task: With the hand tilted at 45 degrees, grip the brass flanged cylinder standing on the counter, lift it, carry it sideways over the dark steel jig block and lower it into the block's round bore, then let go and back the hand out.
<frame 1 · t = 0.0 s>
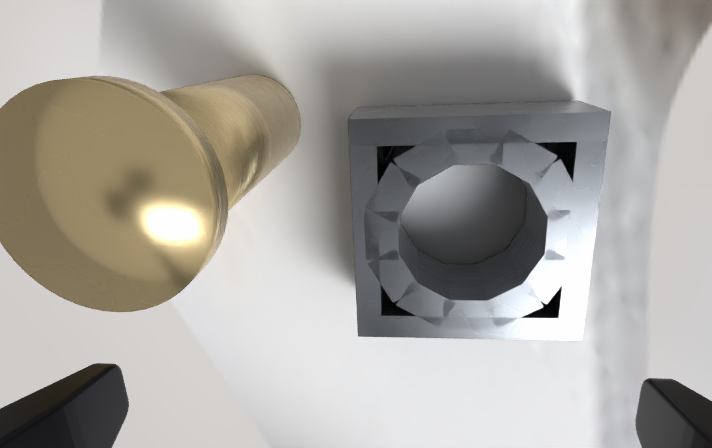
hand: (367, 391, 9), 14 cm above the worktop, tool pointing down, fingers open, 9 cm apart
brass flanged cylinder: (255, 122, 22), on the worktop
jig: (462, 207, 22), on the worktop
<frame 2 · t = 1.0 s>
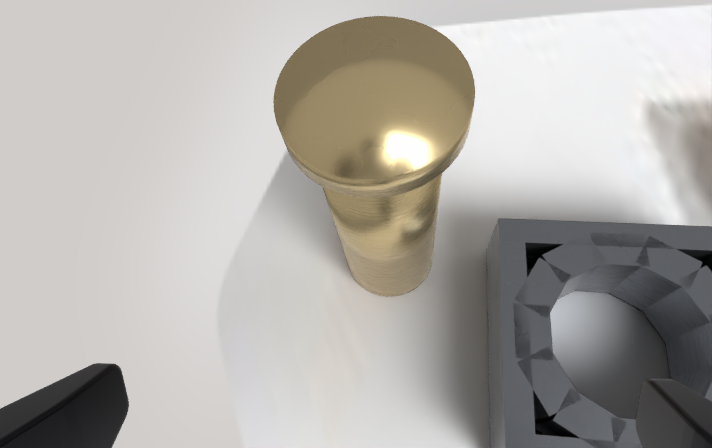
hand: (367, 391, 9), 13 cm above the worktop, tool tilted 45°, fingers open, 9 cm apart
brass flanged cylinder: (389, 255, 24), on the worktop
jig: (598, 354, 21), on the worktop
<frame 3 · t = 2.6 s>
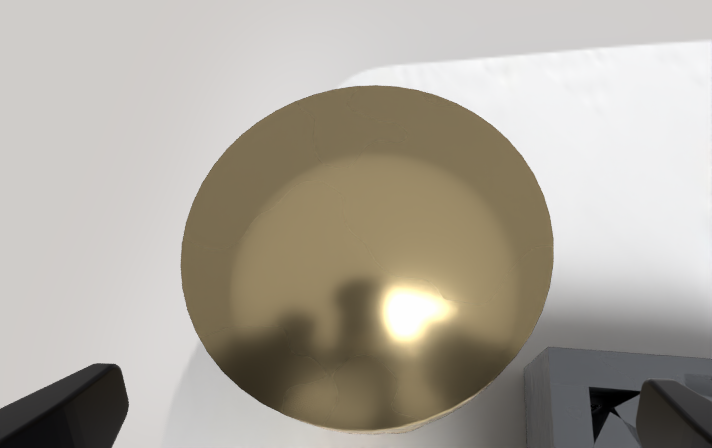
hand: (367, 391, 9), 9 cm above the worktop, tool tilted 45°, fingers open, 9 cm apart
brass flanged cylinder: (393, 372, 18), on the worktop
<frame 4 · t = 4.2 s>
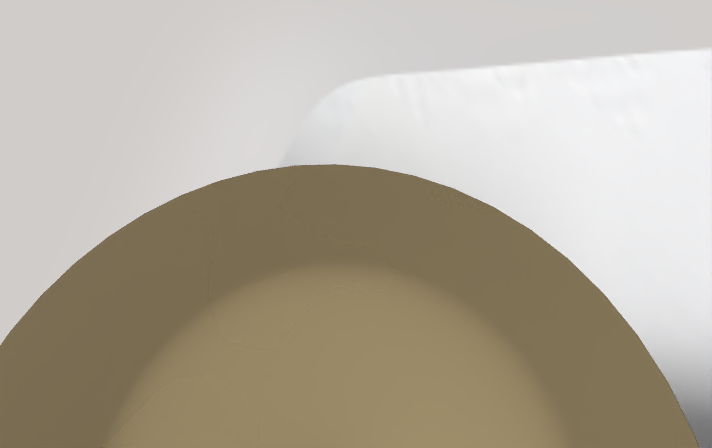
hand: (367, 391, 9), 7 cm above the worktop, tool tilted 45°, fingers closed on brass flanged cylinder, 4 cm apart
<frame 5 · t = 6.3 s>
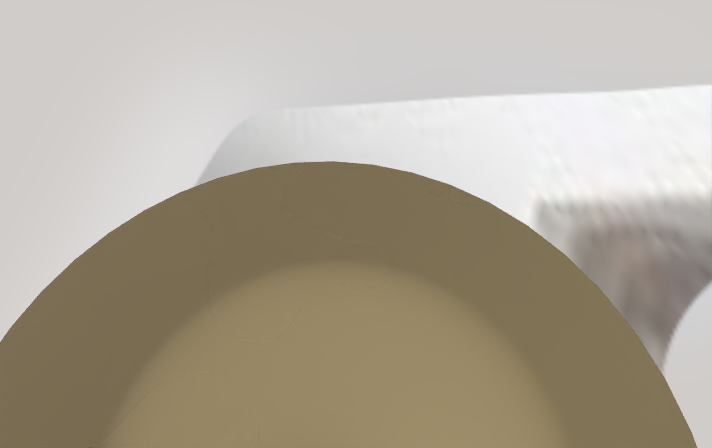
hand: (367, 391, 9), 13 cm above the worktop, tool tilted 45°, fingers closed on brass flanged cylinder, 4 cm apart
when the fingers open (9 cm above the worktop, at t = 8.5 s): brass flanged cylinder drops 2 cm, resting in jig.
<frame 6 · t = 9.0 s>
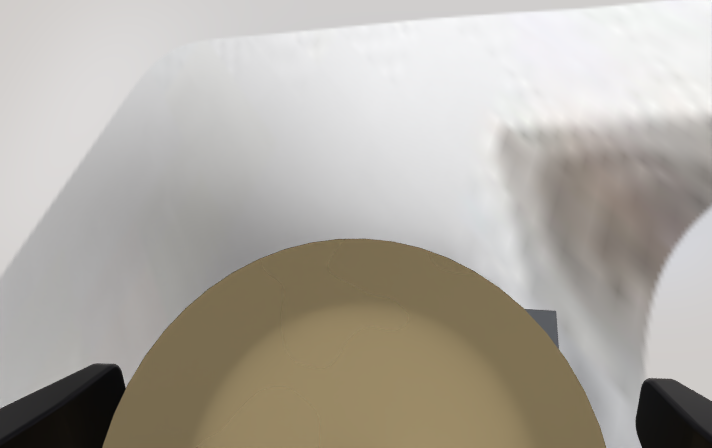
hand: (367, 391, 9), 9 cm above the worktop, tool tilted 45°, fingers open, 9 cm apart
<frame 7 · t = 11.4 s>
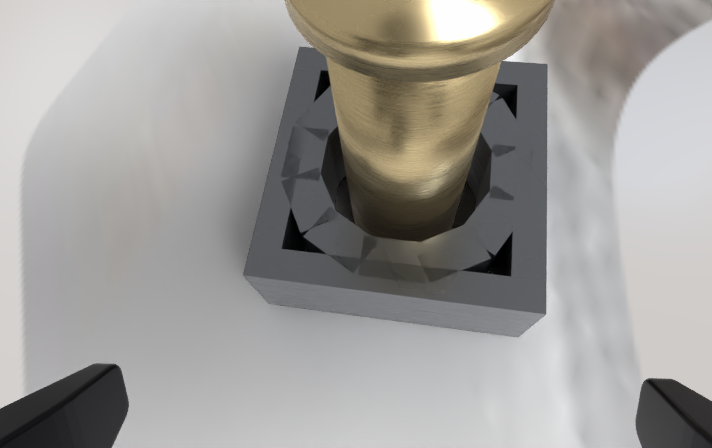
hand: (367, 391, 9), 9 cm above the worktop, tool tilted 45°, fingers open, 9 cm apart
brass flanged cylinder: (403, 209, 20), resting in jig
jig: (403, 207, 20), on the worktop
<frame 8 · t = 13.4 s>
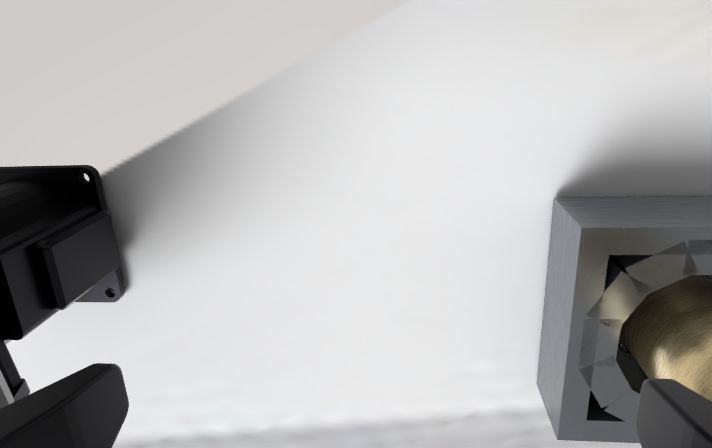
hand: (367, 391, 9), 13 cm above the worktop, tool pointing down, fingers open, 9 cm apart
brass flanged cylinder: (652, 298, 21), resting in jig
jig: (654, 298, 21), on the worktop
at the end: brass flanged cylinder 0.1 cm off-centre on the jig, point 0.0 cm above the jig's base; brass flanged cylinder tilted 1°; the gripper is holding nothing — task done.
